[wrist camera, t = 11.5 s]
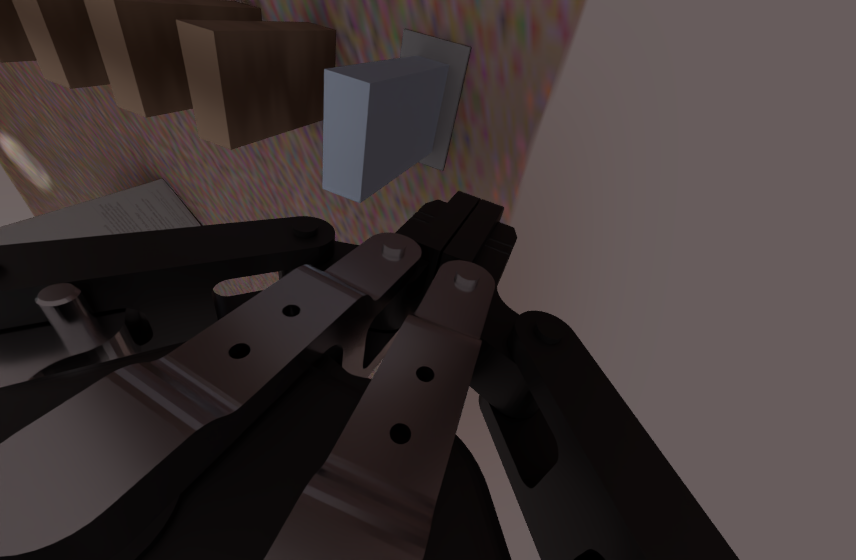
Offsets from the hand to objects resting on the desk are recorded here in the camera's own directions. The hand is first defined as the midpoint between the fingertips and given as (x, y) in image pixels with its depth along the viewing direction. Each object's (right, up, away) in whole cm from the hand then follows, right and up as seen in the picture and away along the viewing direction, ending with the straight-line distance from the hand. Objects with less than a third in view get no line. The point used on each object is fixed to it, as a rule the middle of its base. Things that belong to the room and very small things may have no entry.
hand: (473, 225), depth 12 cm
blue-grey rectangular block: (-2, +9, +11) cm, 14 cm away
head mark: (-2, +9, +11) cm, 14 cm away
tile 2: (-8, +12, +12) cm, 19 cm away
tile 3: (-13, +14, +13) cm, 23 cm away
